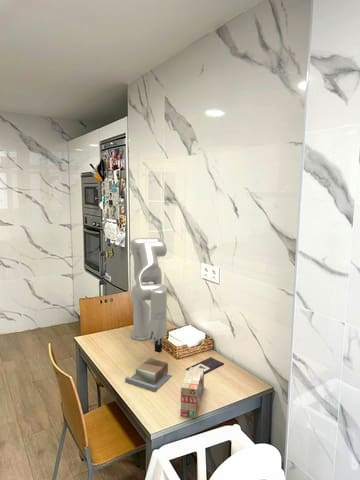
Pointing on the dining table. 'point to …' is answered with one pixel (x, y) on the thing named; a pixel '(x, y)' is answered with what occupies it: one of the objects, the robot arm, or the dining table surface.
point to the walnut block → (151, 371)
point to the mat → (145, 385)
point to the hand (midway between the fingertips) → (158, 351)
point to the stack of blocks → (192, 392)
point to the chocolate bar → (207, 365)
